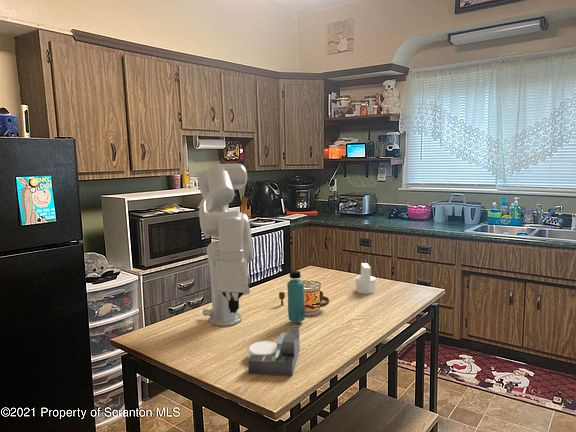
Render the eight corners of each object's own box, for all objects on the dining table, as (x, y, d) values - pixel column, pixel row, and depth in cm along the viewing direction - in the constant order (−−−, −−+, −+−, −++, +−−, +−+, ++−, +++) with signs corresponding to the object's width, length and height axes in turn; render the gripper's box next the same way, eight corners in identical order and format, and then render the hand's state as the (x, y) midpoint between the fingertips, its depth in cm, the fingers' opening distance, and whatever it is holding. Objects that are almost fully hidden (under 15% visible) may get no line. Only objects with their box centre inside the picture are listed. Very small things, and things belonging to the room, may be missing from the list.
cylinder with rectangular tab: (377, 293, 196) (377, 267, 195) (357, 293, 197) (357, 268, 195) (373, 287, 205) (373, 262, 204) (354, 287, 205) (354, 263, 204)
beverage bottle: (303, 326, 161) (302, 274, 158) (286, 325, 162) (284, 273, 160) (306, 319, 167) (305, 269, 165) (289, 319, 169) (288, 269, 166)
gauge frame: (248, 373, 127) (247, 347, 126) (260, 348, 144) (259, 325, 143) (292, 375, 125) (291, 349, 124) (299, 349, 142) (299, 326, 141)
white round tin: (250, 367, 132) (250, 356, 131) (246, 352, 141) (246, 342, 141) (282, 362, 134) (282, 352, 133) (276, 349, 143) (276, 339, 143)
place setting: (323, 312, 176) (322, 298, 176) (277, 307, 183) (276, 294, 183) (333, 298, 193) (333, 285, 192) (291, 294, 200) (291, 282, 199)
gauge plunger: (274, 369, 127) (273, 351, 127) (281, 349, 141) (281, 332, 140) (279, 370, 127) (278, 351, 126) (286, 349, 140) (285, 332, 140)
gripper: (204, 257, 132) (207, 315, 135) (252, 258, 130) (254, 316, 133) (212, 251, 139) (215, 306, 142) (257, 252, 137) (259, 307, 140)
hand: (234, 311), depth 137 cm, fingers closed
